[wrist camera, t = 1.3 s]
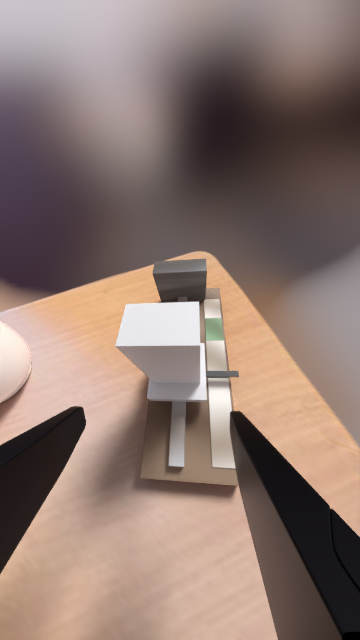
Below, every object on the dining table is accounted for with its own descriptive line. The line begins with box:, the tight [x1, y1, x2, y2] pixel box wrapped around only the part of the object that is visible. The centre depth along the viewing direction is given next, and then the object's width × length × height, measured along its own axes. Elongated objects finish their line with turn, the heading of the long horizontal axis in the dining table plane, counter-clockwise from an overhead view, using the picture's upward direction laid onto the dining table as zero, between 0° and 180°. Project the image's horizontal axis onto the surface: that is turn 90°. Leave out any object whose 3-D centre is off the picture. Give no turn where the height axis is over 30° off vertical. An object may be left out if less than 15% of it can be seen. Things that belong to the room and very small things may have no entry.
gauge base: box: [140, 259, 239, 486], centre depth 17 cm, size 20×8×6 cm, turn 178°
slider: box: [115, 302, 239, 402], centre depth 12 cm, size 5×8×10 cm, turn 88°
